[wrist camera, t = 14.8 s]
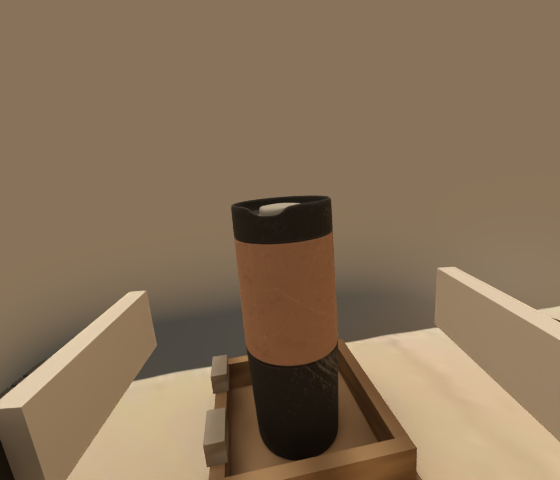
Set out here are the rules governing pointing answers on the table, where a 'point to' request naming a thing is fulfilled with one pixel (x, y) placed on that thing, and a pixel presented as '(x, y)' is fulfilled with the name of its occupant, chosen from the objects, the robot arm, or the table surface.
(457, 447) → the table surface
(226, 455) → the tray
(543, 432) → the table surface
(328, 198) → the travel mug
